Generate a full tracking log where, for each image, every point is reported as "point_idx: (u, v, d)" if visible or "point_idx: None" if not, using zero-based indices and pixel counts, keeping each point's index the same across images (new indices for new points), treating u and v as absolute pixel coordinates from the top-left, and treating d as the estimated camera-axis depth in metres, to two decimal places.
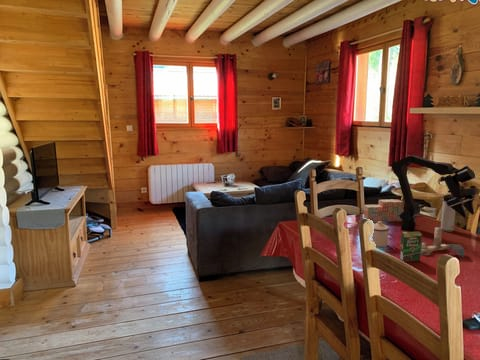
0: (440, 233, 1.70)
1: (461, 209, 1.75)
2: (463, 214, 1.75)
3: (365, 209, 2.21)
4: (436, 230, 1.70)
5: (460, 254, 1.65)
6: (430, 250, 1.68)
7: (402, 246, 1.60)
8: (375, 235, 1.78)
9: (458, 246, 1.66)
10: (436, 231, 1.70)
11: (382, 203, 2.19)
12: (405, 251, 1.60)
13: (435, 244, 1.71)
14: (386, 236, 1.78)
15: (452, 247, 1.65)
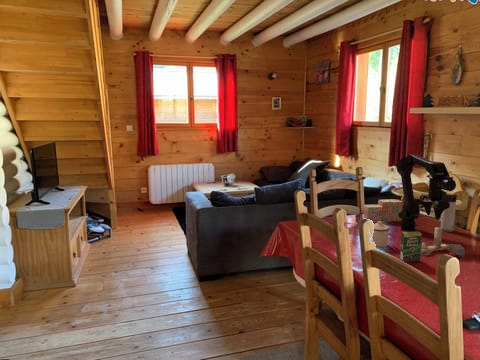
0: (440, 233, 1.70)
1: (440, 212, 1.78)
2: (438, 217, 1.79)
3: (365, 209, 2.21)
4: (436, 230, 1.70)
5: (460, 254, 1.65)
6: (430, 250, 1.68)
7: (402, 246, 1.60)
8: (375, 235, 1.78)
9: (458, 246, 1.66)
10: (436, 231, 1.70)
11: (382, 203, 2.19)
12: (405, 251, 1.60)
13: (435, 244, 1.71)
14: (386, 236, 1.78)
15: (452, 247, 1.65)
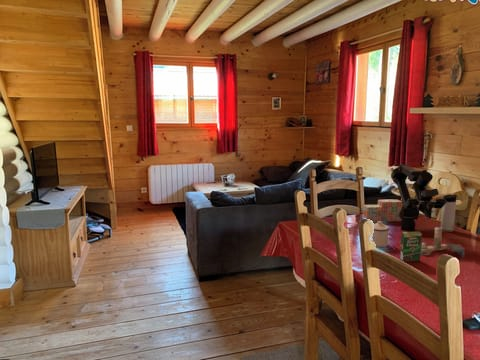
0: (440, 233, 1.70)
1: (425, 210, 1.80)
2: (427, 215, 1.79)
3: (364, 209, 2.21)
4: (436, 230, 1.70)
5: (460, 254, 1.65)
6: (430, 250, 1.68)
7: (402, 246, 1.60)
8: (375, 235, 1.78)
9: (458, 246, 1.66)
10: (436, 231, 1.70)
11: (381, 203, 2.19)
12: (405, 251, 1.60)
13: (435, 244, 1.71)
14: (386, 236, 1.78)
15: (452, 247, 1.65)
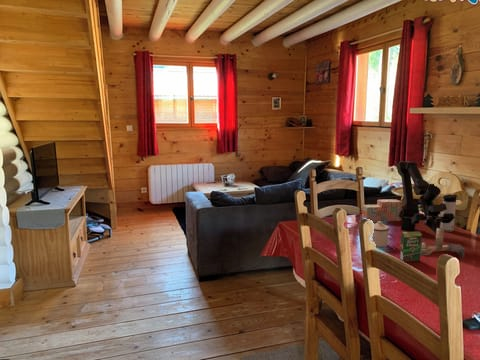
0: (441, 234, 1.69)
1: (433, 226, 1.74)
2: (435, 231, 1.73)
3: (364, 209, 2.21)
4: (437, 231, 1.69)
5: (460, 254, 1.65)
6: (430, 250, 1.68)
7: (402, 246, 1.60)
8: (375, 235, 1.78)
9: (458, 246, 1.66)
10: (437, 232, 1.70)
11: (381, 203, 2.19)
12: (405, 251, 1.60)
13: (436, 245, 1.71)
14: (386, 236, 1.78)
15: (452, 247, 1.65)
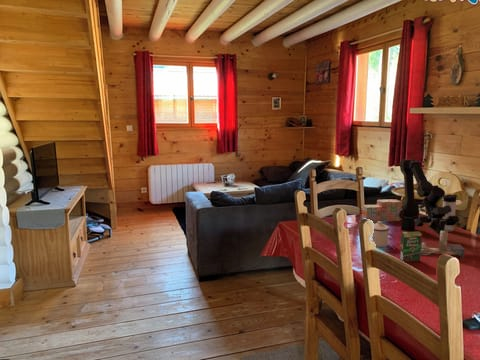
0: (444, 236, 1.65)
1: (437, 228, 1.70)
2: None
3: (364, 209, 2.21)
4: (440, 233, 1.67)
5: (460, 254, 1.65)
6: (428, 251, 1.67)
7: (402, 246, 1.60)
8: (375, 235, 1.78)
9: (458, 246, 1.66)
10: (440, 234, 1.67)
11: (381, 203, 2.19)
12: (405, 251, 1.60)
13: (439, 247, 1.68)
14: (386, 236, 1.78)
15: (452, 247, 1.65)
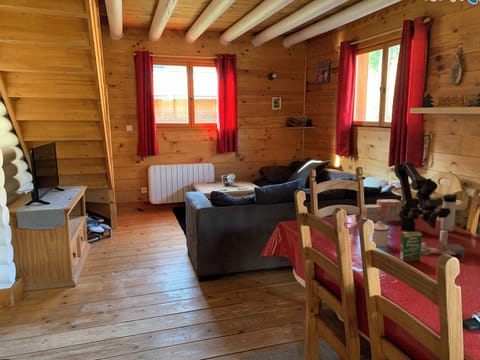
0: (444, 236, 1.65)
1: (429, 220, 1.77)
2: (431, 225, 1.76)
3: (363, 209, 2.21)
4: (440, 233, 1.67)
5: (460, 254, 1.65)
6: (428, 251, 1.67)
7: (402, 246, 1.60)
8: (375, 235, 1.78)
9: (458, 246, 1.66)
10: (440, 234, 1.67)
11: (380, 203, 2.19)
12: (405, 251, 1.60)
13: (439, 247, 1.68)
14: (386, 236, 1.78)
15: (452, 247, 1.65)
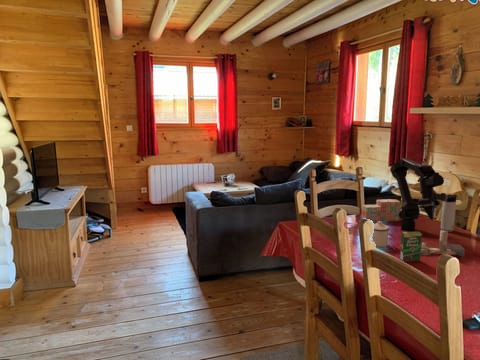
0: (444, 236, 1.65)
1: (431, 211, 1.82)
2: (431, 216, 1.83)
3: (363, 209, 2.21)
4: (440, 233, 1.67)
5: (460, 254, 1.65)
6: (428, 251, 1.67)
7: (402, 246, 1.60)
8: (375, 235, 1.78)
9: (458, 246, 1.66)
10: (440, 234, 1.67)
11: (380, 203, 2.19)
12: (405, 251, 1.60)
13: (439, 247, 1.68)
14: (386, 236, 1.78)
15: (452, 247, 1.65)
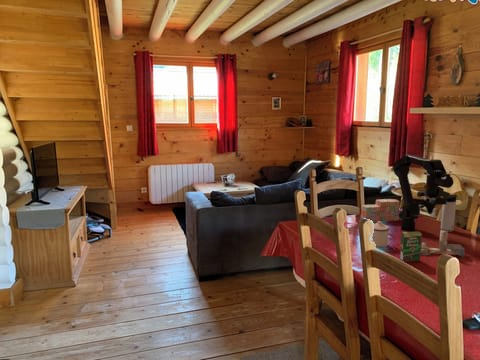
0: (444, 236, 1.65)
1: (433, 207, 1.86)
2: (431, 211, 1.87)
3: (363, 209, 2.21)
4: (440, 233, 1.67)
5: (460, 254, 1.65)
6: (428, 251, 1.67)
7: (402, 246, 1.60)
8: (375, 235, 1.78)
9: (458, 246, 1.66)
10: (440, 234, 1.67)
11: (380, 203, 2.19)
12: (405, 251, 1.60)
13: (439, 247, 1.68)
14: (386, 236, 1.78)
15: (452, 247, 1.65)
